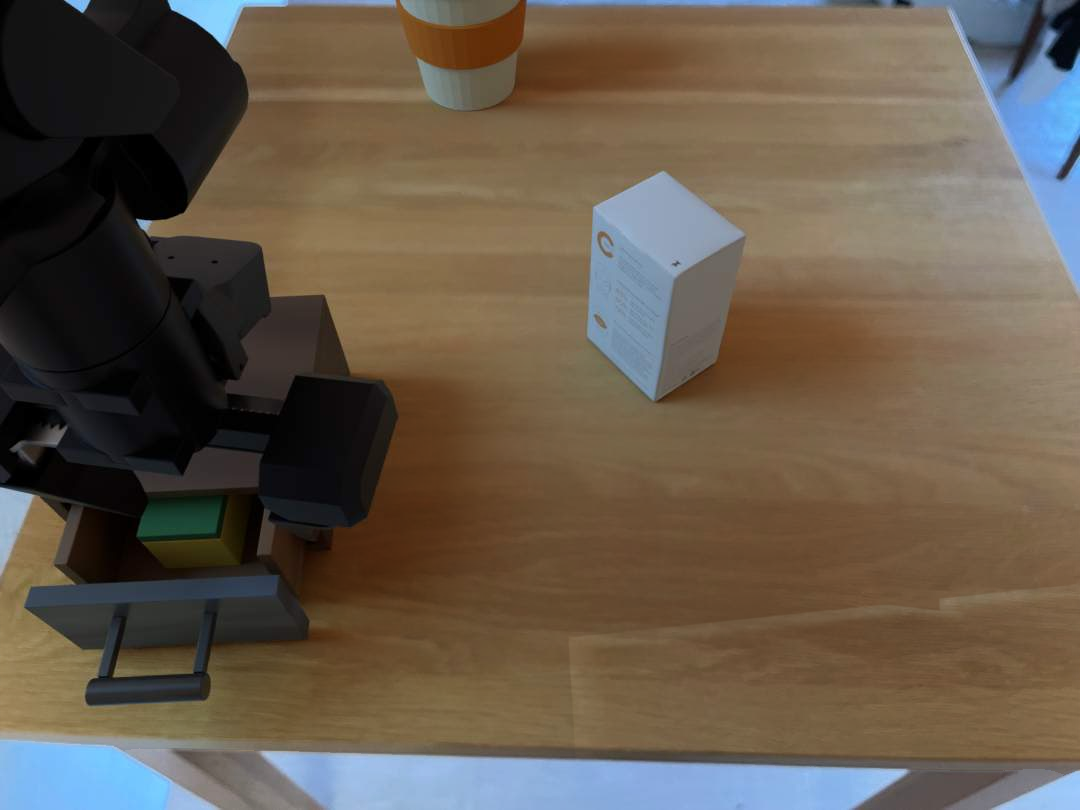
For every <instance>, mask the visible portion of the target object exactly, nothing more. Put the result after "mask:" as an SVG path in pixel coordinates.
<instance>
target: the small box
mask: <svg viewBox="0 0 1080 810" xmlns="http://www.w3.org/2000/svg"><path fill="white" fill-rule="evenodd" d="M591 224H592V226H591V247H590V248H591V249H590V264H589V265H590V269H589V288H588V308H587V309H588V310H587V327H586V330H587V331H586V338H587V339H588V340H589V341H590V342H592V343H593V344H594V346H596V348H598V350H600V351H601V352H602V354H604V355H605V356H606V357H607V358H608V359H609V360H610V361H611V362H612V363H613V364H614V365H615V366H616V367H617V368H618V369H619V370H620V371H621V372H622V373H623V374H624V375H625V376H626V377H627V378H628V379H629V380H630V381H631V382H632V383H634V385H636V386H637V387H638V389H640V390H641V392H643V394H645V395H646V396H647V397H648V398H649V399H650V400H651V401H652V402H654V403H655V402H658V401H659V400H661V399H662V398H663V397H665V396H666V395H668V394H669V393H671V392H673V391H674V390H676V389H677V388H679V387H681V386H682V385H683V384H685V383H687V382H688V381H690V380H691V379H692V378H694V377H696V376H697V375H699V374H700V373H702V372H703V371H704V370H706V369H707V368H709V367H710V366H712V365H714V364H715V363H717V360H718V356H719V352H720V347H721V344H722V340H723V335H724V332H725V327H726V324H727V319H728V316H729V311H730V306H731V302H732V298H733V295H734V294H733V293H734V290H735V286H736V280H737V276H738V273H739V269H740V264H741V260H742V256H743V252H744V249H745V248H744V247H745V243H746V238H747V235H748V234H747V233H746V232H745V231H744V230H742V229H741V228H739V227H738V226H736V225H735V223H733V222H732V221H731V220H729V219H728V218H727V217H725V216H724V215H723V214H721V213H720V212H719V211H717V210H716V209H714V207H712V206H711V205H709V204H708V203H707V202H706V201H704V200H703V199H701V197H699V196H698V195H696V194H695V193H694V192H693V191H692V190H690V189H689V188H687V187H686V186H685V185H684V184H682V183H681V182H679V181H678V180H677V179H676V178H675V177H673V176H672V175H671V174H670V173H668V172H667V171H666V170H662V171H660V172H657V173H656V174H654V175H652V176H651V177H648V178H647V179H645V180H643V181H641V182H639V183H637V184H635V185H633V186H631V187H629V188H628V189H626V190H624V191H622V192H619V193H618V194H616V195H614V196H612V197H610V198H608V199H606V200H604V201H602V202H601V203H598V204H596V205H594V206H592V223H591Z"/></svg>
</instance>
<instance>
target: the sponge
mask: <svg viewBox="0 0 1080 810" xmlns="http://www.w3.org/2000/svg"><path fill="white" fill-rule="evenodd" d="M252 495H253V494H234V495H213V496H191V497H170V498H149V502H148V505H147V507H146V509H145V511H144V514H143V515H142V517H141V521H140V525H139V529H138V533H137V538H138V539H139V540H140V541H141V542H142V543H143V544H144V545H145V546H146V547H147V549H148V550H149V551H150V552H151V553H152V554H153V555H154V556H155V557H156V558H157V559H158V560H159V561H160V563H161V564H162V565H163V566H164V567H165V568H166V569H171V568H192V567H213V566H234V565H240V564H241V558H242V552H243V546H244V541H245V535H246V529H247V524H248V518H249V512H250V507H251V501H252Z"/></svg>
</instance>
